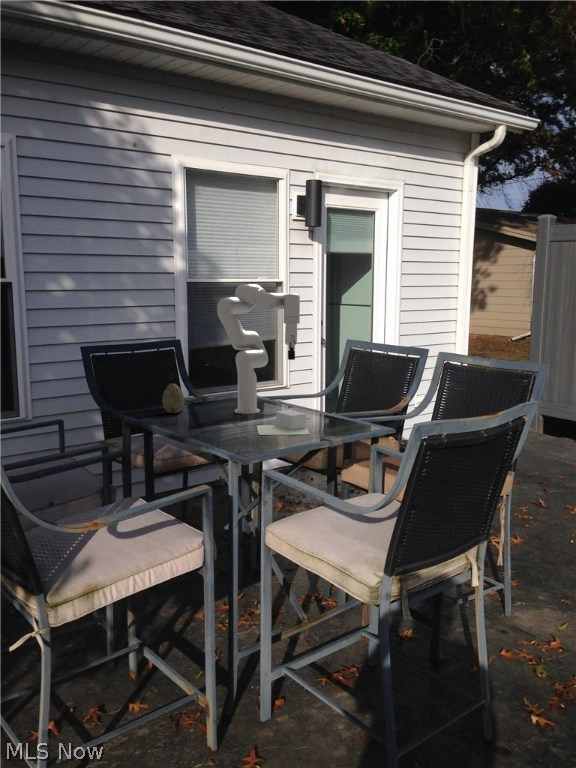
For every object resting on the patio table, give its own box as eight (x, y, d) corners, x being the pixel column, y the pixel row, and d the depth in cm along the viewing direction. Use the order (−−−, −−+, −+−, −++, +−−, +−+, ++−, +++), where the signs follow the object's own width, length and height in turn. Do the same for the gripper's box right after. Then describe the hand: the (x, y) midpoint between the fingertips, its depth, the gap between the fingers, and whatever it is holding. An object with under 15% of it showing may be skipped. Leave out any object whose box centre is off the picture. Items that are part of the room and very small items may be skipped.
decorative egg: (162, 411, 344) (161, 382, 342) (183, 411, 346) (183, 382, 344) (162, 415, 333) (162, 385, 331) (184, 414, 335) (184, 384, 333)
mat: (256, 426, 308) (256, 425, 308) (304, 425, 310) (304, 424, 310) (258, 435, 288) (258, 434, 288) (310, 434, 290) (310, 433, 290)
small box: (275, 425, 309) (290, 429, 298) (275, 411, 308) (290, 415, 297) (290, 423, 313) (306, 428, 302) (290, 409, 313) (306, 414, 302)
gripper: (282, 319, 323) (282, 358, 325) (284, 321, 308) (284, 361, 310) (297, 319, 323) (297, 358, 326) (301, 321, 309) (301, 361, 311)
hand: (291, 359), depth 318 cm, fingers closed
